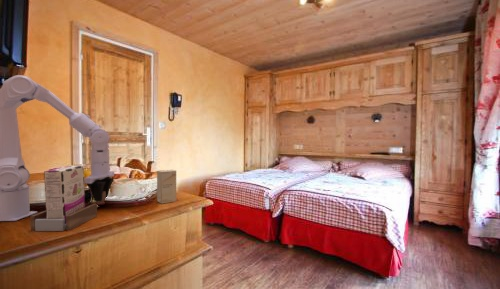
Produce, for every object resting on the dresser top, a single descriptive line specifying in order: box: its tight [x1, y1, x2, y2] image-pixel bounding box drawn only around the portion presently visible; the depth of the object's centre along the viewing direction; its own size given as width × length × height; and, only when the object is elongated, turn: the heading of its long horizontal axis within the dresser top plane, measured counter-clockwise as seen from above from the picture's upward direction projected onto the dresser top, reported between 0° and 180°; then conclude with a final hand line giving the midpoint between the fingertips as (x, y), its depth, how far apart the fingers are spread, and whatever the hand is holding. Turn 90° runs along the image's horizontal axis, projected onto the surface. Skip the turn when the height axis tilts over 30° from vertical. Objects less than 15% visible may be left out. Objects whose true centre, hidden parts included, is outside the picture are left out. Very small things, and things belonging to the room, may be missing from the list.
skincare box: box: [156, 169, 177, 204], centre depth 95 cm, size 6×4×12 cm
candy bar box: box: [43, 164, 86, 224], centre depth 72 cm, size 11×5×16 cm, turn 9°
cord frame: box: [35, 191, 107, 232], centre depth 78 cm, size 7×25×5 cm, turn 1°
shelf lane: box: [30, 203, 98, 232], centre depth 72 cm, size 11×12×4 cm
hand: (101, 199), depth 88 cm, fingers closed on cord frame, 3 cm apart
